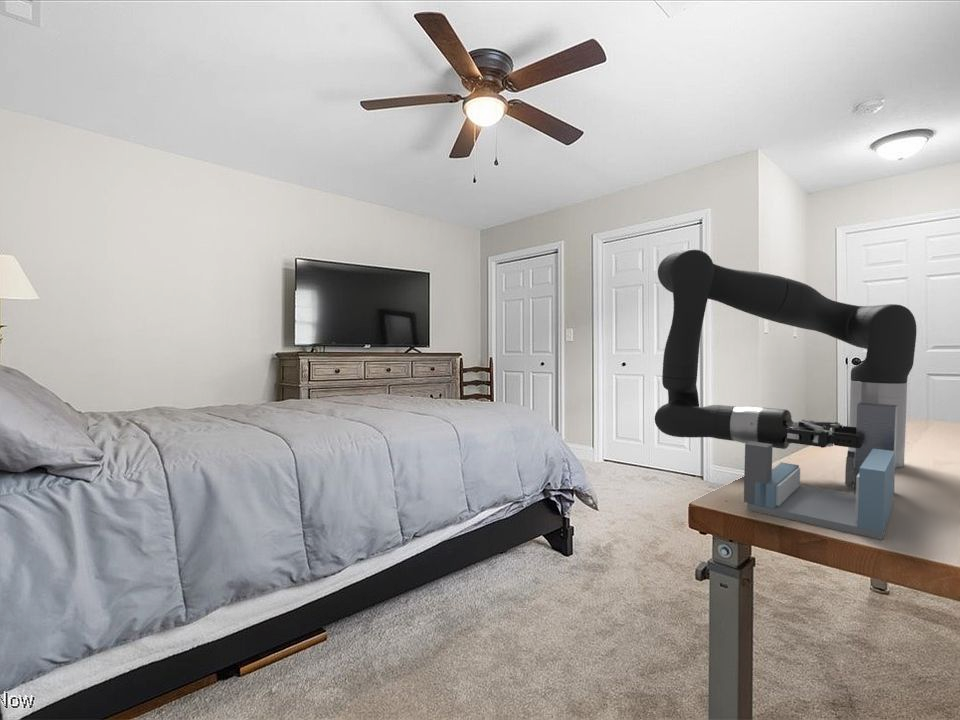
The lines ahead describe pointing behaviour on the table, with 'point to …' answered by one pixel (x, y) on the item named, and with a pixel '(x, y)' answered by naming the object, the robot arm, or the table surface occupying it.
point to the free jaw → (767, 477)
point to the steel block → (875, 431)
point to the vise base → (846, 500)
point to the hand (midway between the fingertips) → (865, 438)
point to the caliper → (850, 468)
